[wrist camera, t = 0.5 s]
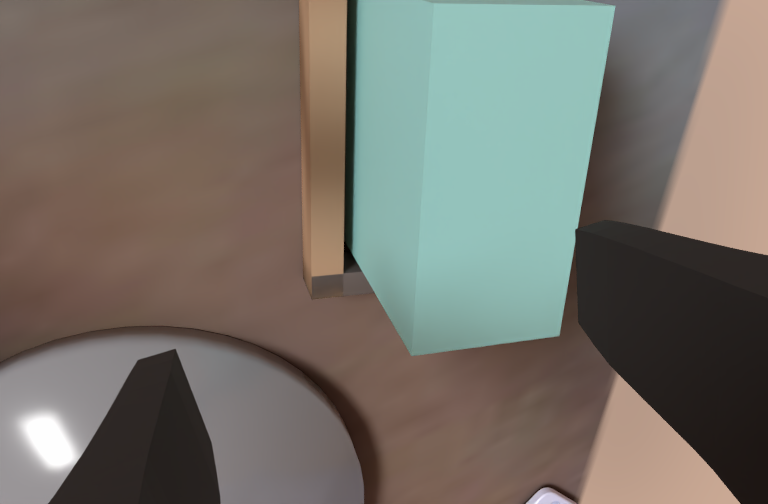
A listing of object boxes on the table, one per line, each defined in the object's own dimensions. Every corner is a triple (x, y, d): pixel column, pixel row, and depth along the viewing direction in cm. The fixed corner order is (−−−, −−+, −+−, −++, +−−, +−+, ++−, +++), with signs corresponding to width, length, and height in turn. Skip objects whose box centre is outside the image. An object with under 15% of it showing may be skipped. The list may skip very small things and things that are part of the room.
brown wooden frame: (297, -70, 18) (308, -70, 17) (528, -61, 20) (553, -60, 19) (303, 277, 22) (311, 299, 21) (491, 259, 24) (510, 278, 23)
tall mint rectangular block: (347, -21, 19) (434, 3, 13) (478, -18, 20) (615, 6, 14) (344, 240, 22) (411, 355, 16) (456, 230, 23) (559, 335, 17)
